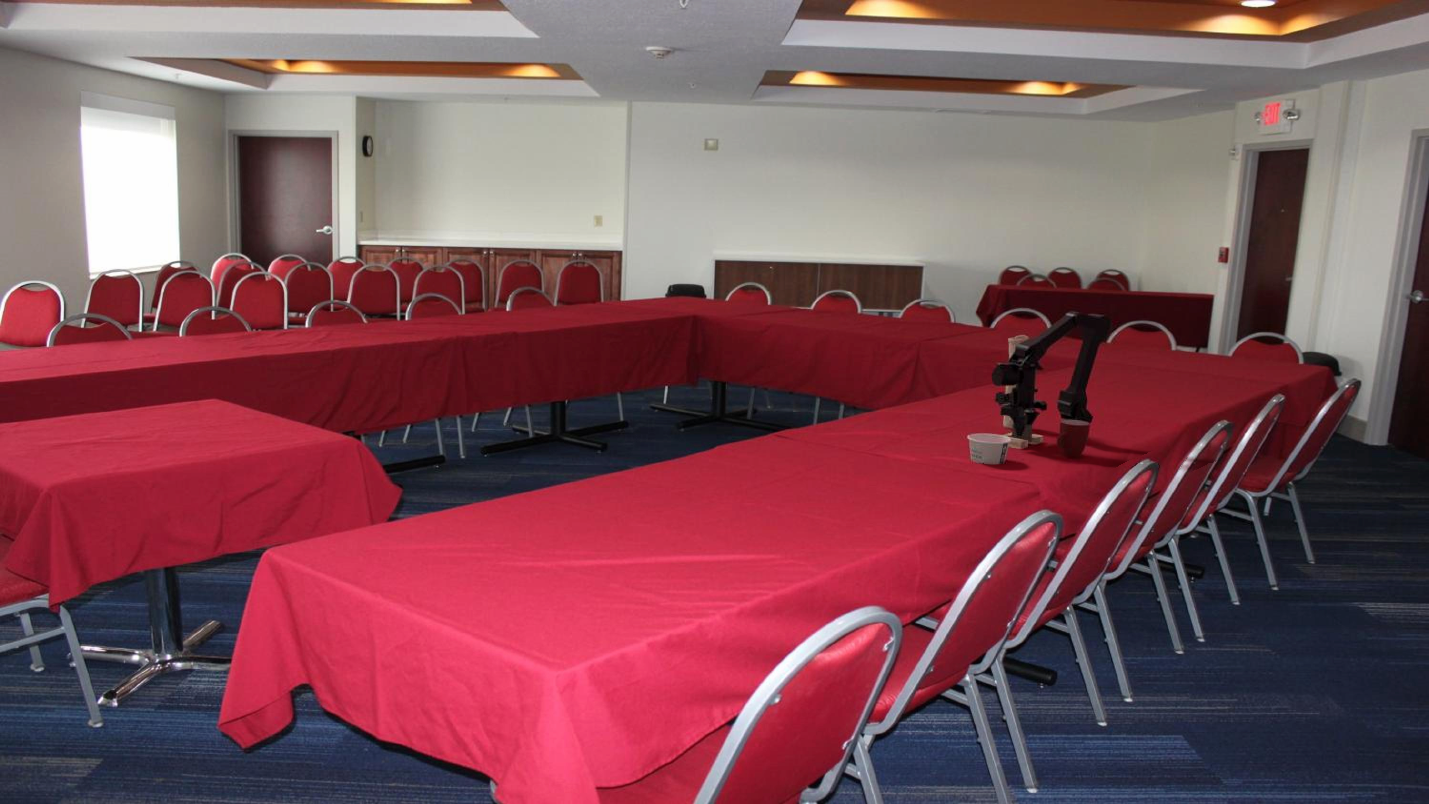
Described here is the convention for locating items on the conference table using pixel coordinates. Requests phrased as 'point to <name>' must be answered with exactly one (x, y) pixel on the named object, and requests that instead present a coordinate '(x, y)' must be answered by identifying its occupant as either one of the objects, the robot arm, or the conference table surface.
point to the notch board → (1023, 441)
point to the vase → (1007, 420)
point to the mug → (1073, 437)
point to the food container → (988, 448)
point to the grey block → (1023, 433)
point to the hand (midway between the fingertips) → (1021, 435)
